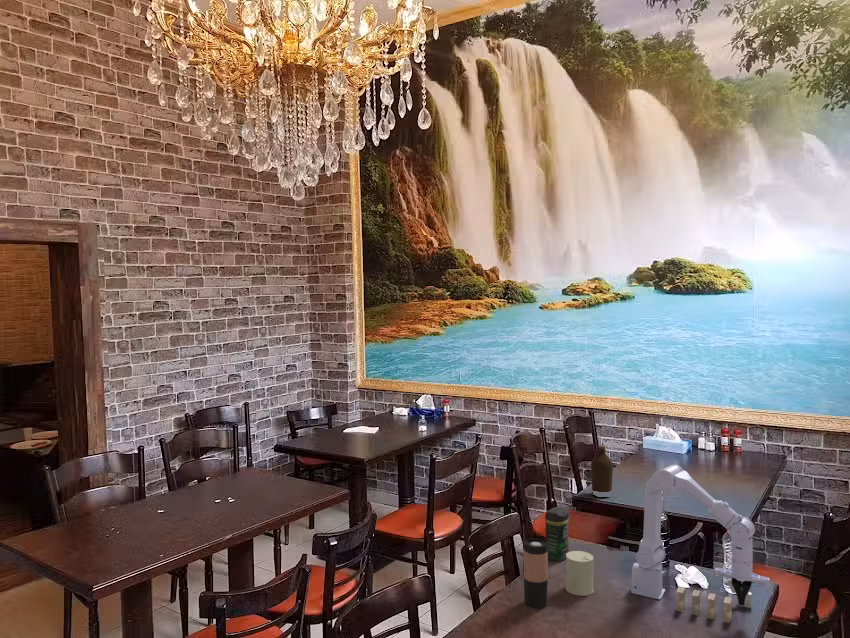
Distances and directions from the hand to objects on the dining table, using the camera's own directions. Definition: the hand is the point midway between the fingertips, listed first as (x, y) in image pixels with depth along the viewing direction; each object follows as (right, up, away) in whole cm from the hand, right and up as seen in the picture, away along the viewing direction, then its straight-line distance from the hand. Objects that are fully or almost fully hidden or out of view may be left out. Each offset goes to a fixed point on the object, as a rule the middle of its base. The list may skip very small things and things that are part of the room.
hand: (741, 603), depth 192 cm
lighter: (+5, -6, +11) cm, 14 cm away
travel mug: (-60, -6, +13) cm, 62 cm away
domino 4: (-3, -6, +2) cm, 7 cm away
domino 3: (-7, -6, +5) cm, 10 cm away
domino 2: (-11, -6, +7) cm, 14 cm away
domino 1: (-15, -6, +9) cm, 18 cm away
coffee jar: (-46, -5, +50) cm, 68 cm away
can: (-44, -6, +22) cm, 49 cm away
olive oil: (-8, -2, +125) cm, 125 cm away
